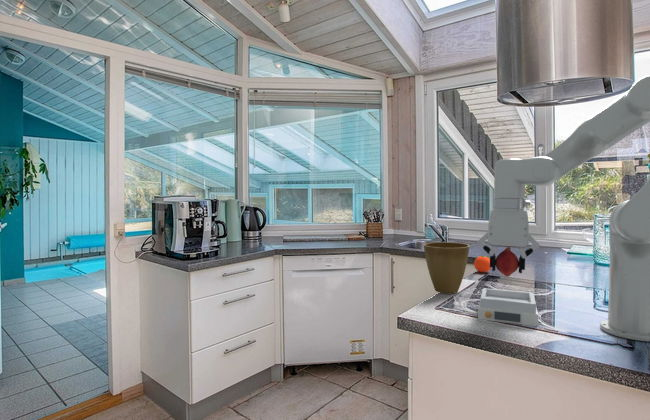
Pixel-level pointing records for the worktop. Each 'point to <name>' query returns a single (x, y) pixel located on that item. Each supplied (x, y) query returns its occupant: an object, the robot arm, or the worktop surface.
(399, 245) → the worktop surface
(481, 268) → the clementine
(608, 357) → the worktop surface
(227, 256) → the worktop surface
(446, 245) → the plant pot
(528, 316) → the scale
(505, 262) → the onion
